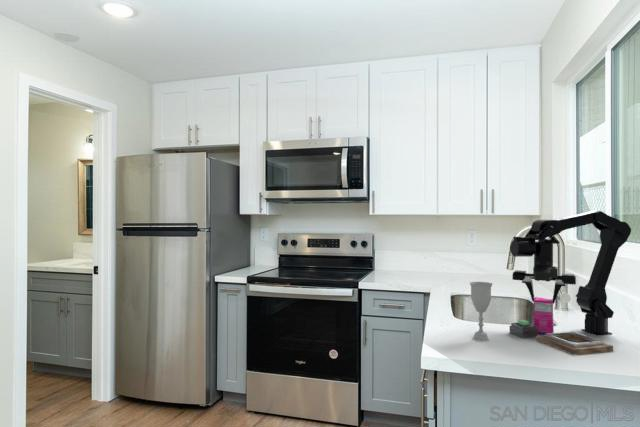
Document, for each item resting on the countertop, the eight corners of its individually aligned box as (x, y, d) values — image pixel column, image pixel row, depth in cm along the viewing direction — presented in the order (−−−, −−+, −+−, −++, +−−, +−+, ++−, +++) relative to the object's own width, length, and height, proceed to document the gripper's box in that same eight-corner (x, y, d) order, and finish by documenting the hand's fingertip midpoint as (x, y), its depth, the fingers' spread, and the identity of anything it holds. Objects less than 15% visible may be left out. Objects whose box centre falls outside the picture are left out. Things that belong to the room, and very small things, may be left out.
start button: (524, 323, 138) (524, 319, 138) (531, 325, 135) (531, 322, 135) (515, 323, 137) (515, 320, 137) (522, 326, 134) (522, 322, 134)
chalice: (484, 344, 126) (484, 286, 126) (464, 339, 132) (464, 283, 132) (497, 340, 130) (497, 283, 131) (478, 335, 136) (478, 281, 136)
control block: (524, 331, 140) (524, 321, 140) (537, 336, 134) (537, 326, 134) (509, 333, 138) (509, 322, 138) (522, 338, 133) (522, 327, 133)
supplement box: (534, 329, 143) (534, 296, 143) (553, 331, 140) (554, 298, 140) (533, 333, 138) (533, 299, 138) (553, 335, 135) (553, 301, 135)
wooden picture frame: (572, 337, 134) (572, 329, 134) (613, 351, 120) (613, 342, 120) (537, 340, 130) (537, 332, 130) (574, 354, 117) (574, 346, 117)
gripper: (510, 257, 137) (510, 303, 137) (576, 260, 128) (576, 310, 128) (514, 254, 147) (514, 297, 147) (575, 257, 137) (575, 303, 137)
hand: (543, 302), depth 139 cm, fingers open, 6 cm apart
